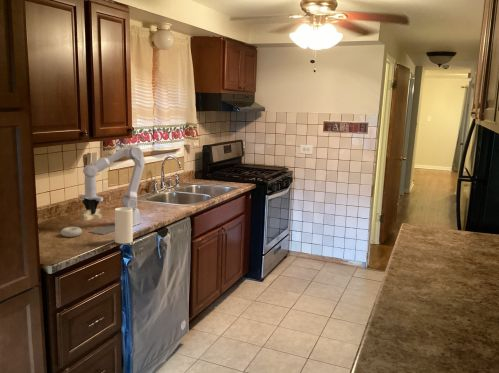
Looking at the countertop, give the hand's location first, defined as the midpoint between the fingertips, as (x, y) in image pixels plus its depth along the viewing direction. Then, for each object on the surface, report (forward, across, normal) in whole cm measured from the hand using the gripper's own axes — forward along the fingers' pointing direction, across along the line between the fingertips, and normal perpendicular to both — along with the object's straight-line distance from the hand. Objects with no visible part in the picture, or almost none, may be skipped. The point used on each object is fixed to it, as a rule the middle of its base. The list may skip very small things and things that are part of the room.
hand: (91, 213), depth 238 cm
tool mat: (+8, +9, +2) cm, 13 cm away
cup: (+9, +30, -12) cm, 33 cm away
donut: (+6, 0, -10) cm, 12 cm away
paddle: (+3, 0, 0) cm, 3 cm away
